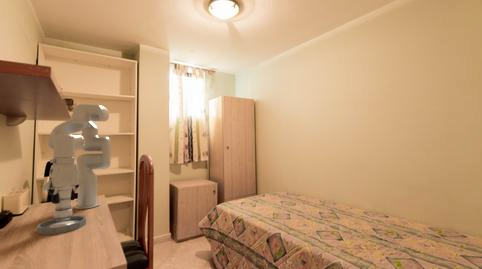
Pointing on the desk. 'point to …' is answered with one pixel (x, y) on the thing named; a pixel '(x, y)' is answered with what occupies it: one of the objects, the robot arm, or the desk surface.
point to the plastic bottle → (63, 204)
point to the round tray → (61, 225)
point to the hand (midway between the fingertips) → (63, 201)
